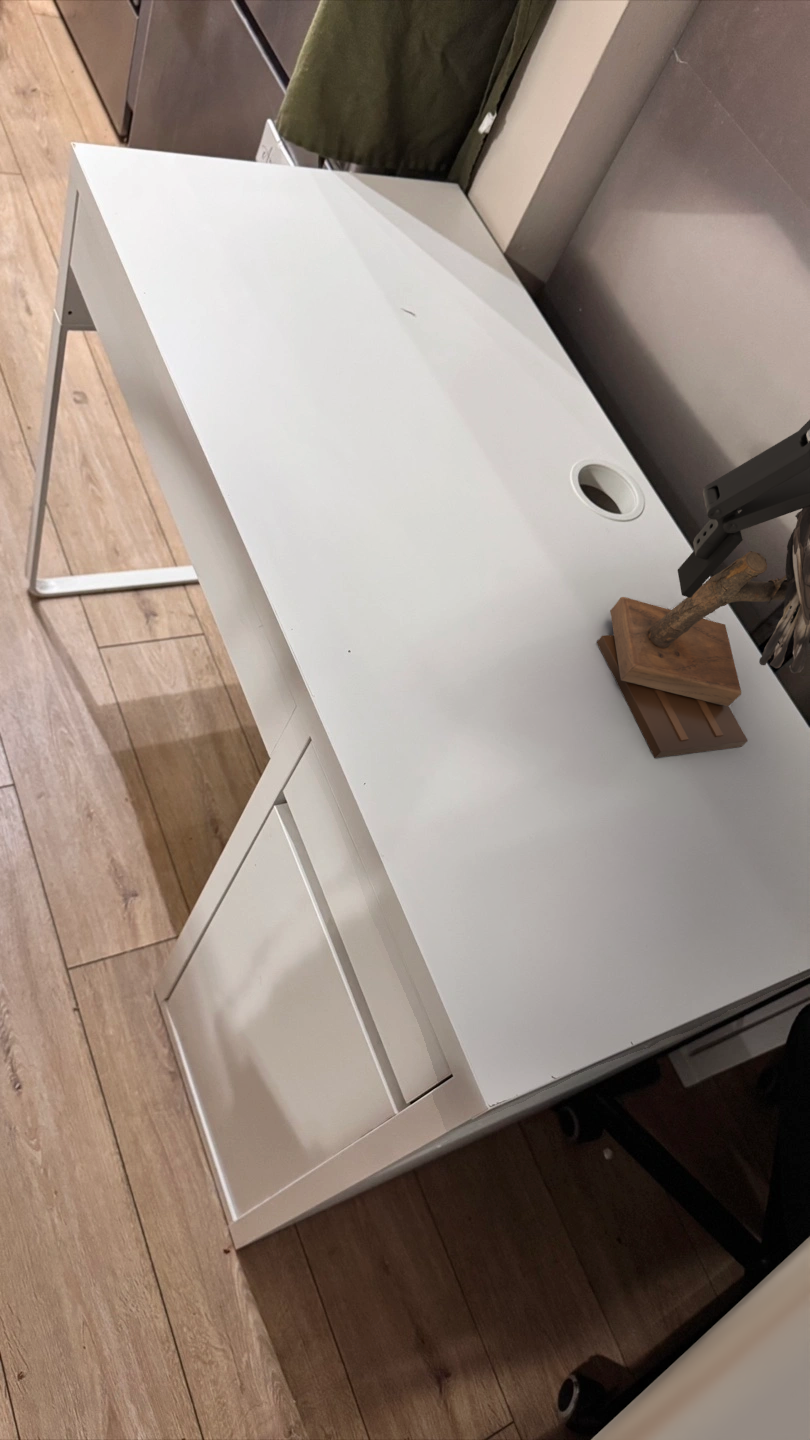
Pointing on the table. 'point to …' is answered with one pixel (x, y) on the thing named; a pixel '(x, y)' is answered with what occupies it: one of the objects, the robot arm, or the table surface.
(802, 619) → the bird figurine
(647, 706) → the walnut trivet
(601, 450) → the table surface
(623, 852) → the table surface
